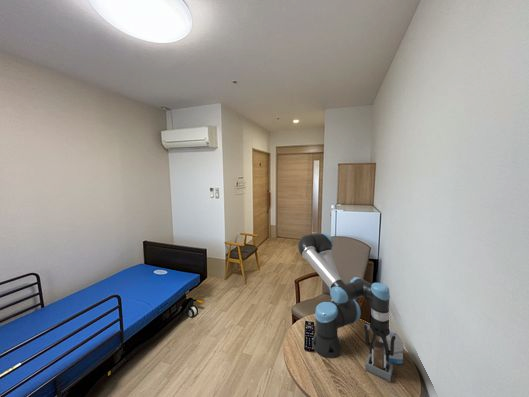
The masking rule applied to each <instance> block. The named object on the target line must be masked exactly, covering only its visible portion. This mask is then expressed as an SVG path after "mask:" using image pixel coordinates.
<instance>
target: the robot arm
mask: <svg viewBox="0 0 529 397" xmlns="http://www.w3.org/2000/svg"><path fill="white" fill-rule="evenodd" d="M333 242H334V241H333V239H332V237H331V236H330V235H329V234H327V233H326V232H317V233H313V234H306V235H303V236H302V237H301V238H300V239H299V241H298V245H297V249H298V252H299V254H300V256H301V257H302V258H303V259H304V260H307V262H308V263H309V264H310V266H311V267H312V268H313V270H314V271H315V272H316V273H317V274H318V275H319V277H320V278H321V279H322V280H323V282H324V283H325V284H326V285H327V287H328V290H329V294H330V297H331V300H330V301H328V302H327V301H323V302H320V303H319V304H317V305H316V307H315V314H314V316H315V333H314V334H313V338H312V348H313V347H314V348H313V350H314V351H315V352H316V353H317V354H318V355H319V356H321V357H324V358H327V359H329V358H331V359H332V358H336V357H338V356H339V355H340V354H341V351H342V346H341V344H342V343H341V341H340V339H339V336H338V329H339V328H343V327H346V326H349V325H350V324H354V323H356V322H358V321H359V320H360V319H361V307H360V305H359V303H358V302H357V301H356V299H360V298H364V299H366V300H367V301H370V324H368V323H364V325H363V328H364V331H365V332H364V333H365V334H364V335H365V337H364V338H365V340H364V341H365V342H364V344H365V346H367V347H369V354H370V355H372V362H374V344H375V341H376V337H378V338H380V337H381V338H382V340H383V344H384V348H385V352H384V368H386V361H389V355H391V356H393V354H394V340H395V339H396V334H395V333H394V334H393V333H391V332H390V331H391V330H390V298H391V295H390V288H389V287H388V285H386V284H384V283H382V282H373V283H370V282H369V281H366V280H365V279H363V278H361V277H357V276H354V277H352V279H350V282H349V283H345V281H343V280H342V279H341V276H340V274H339V271H338V269H337V266H336V264H335V260H334V258H333V255H332V252H333V247H334V245H333V244H334V243H333ZM370 330H371V332H372V336H371V340H370ZM388 335H390V338H391V347H390V350H389V347H388V343H387V339H386V336H388Z"/></svg>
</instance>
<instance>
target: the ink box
mask: <svg viewBox="0 0 529 397" xmlns="http://www.w3.org/2000/svg"><path fill="white" fill-rule="evenodd" d="M390 332H391V333H393V334H394V333H395V334H396V339H395V340H394V354H393V356H391V355H389V361H386V362H389V363H391V364H397V365H403V363H404V341H403V339H401V337H400V335H399V333H398V332H397V330H390ZM386 339H387V343H388V347H389V350H390V347H391V338H390V335H388V336H386ZM378 341H379V342H382V343H383V340H382V338H381V337H379V340H378ZM384 352H385V348H384Z"/></svg>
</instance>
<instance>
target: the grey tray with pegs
mask: <svg viewBox="0 0 529 397" xmlns="http://www.w3.org/2000/svg"><path fill="white" fill-rule="evenodd" d="M393 364H394V363H389V362H386V368H384V369H383V370H382V369H379V368H377V367H375V366H374V362H372V354H370V353H368V355H367V358H366V362H365V364H364V365H365V366H364V367H365V368H364V369H365V371H366V372H367V373H370V374H372V375H374V376H376V377H377V378H380V379H382V380H383V381H386V382H388V383H392V382H391V381H392V375H393Z"/></svg>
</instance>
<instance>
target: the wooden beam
mask: <svg viewBox="0 0 529 397" xmlns="http://www.w3.org/2000/svg"><path fill="white" fill-rule="evenodd" d="M379 341H380V340H376V339H375V341H374V344H373V346H374V366H375V367H377V368H379V369H382V370H383V369H384V344H383V343H382V342H379Z"/></svg>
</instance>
